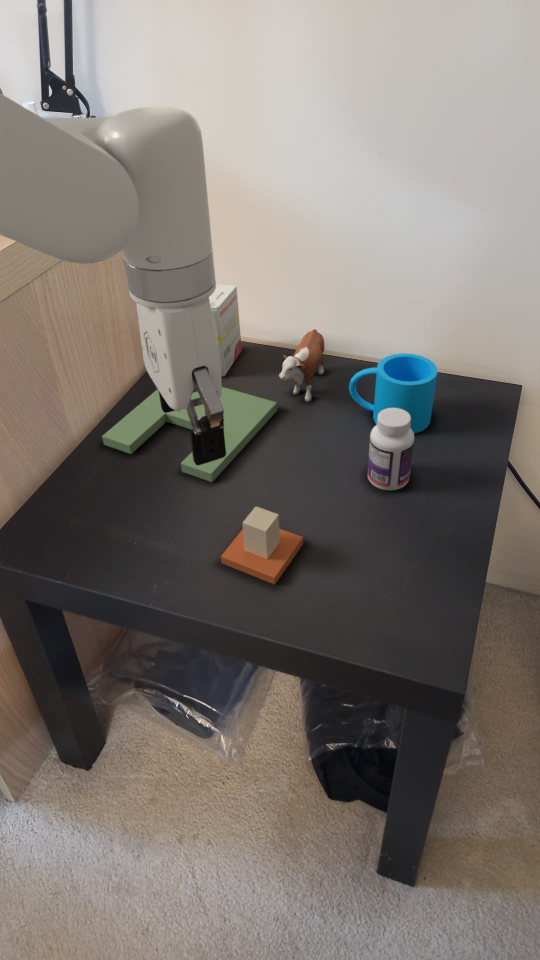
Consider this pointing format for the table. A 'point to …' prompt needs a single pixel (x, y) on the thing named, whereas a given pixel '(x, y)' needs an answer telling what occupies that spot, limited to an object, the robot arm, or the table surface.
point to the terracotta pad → (259, 563)
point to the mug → (401, 387)
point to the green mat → (239, 428)
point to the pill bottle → (391, 450)
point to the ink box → (226, 324)
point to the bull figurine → (305, 362)
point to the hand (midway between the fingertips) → (192, 432)
